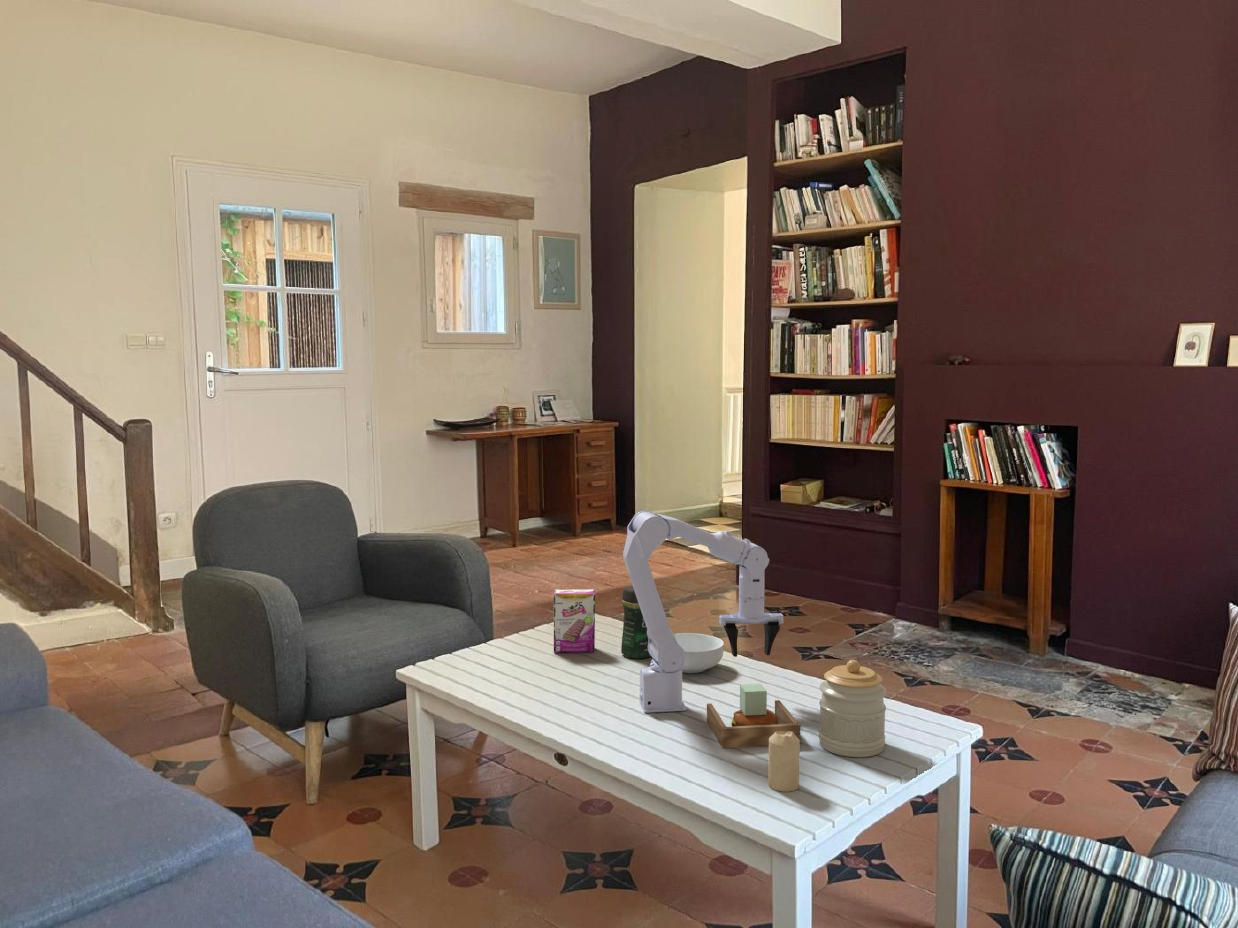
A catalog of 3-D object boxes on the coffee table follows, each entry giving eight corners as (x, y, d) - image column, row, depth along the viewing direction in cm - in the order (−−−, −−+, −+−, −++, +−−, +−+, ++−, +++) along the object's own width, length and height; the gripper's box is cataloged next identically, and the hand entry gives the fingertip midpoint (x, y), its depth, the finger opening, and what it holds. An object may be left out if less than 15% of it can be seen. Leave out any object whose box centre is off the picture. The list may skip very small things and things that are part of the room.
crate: (722, 748, 188) (722, 728, 188) (706, 721, 203) (706, 703, 202) (800, 744, 190) (800, 724, 190) (779, 717, 205) (779, 700, 204)
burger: (786, 737, 194) (787, 715, 194) (747, 744, 190) (748, 722, 190) (760, 721, 203) (761, 700, 203) (723, 728, 199) (723, 706, 199)
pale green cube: (745, 715, 194) (745, 691, 193) (739, 707, 198) (740, 684, 198) (766, 714, 194) (766, 690, 194) (760, 706, 199) (761, 683, 198)
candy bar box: (553, 653, 252) (553, 593, 250) (553, 648, 256) (553, 589, 255) (595, 652, 252) (595, 592, 251) (594, 647, 257) (594, 588, 256)
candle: (795, 778, 174) (796, 726, 173) (802, 791, 169) (803, 737, 168) (765, 779, 174) (766, 726, 173) (771, 792, 169) (772, 738, 168)
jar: (899, 750, 187) (901, 663, 185) (850, 763, 181) (852, 674, 179) (852, 728, 198) (854, 647, 197) (805, 740, 192) (806, 656, 190)
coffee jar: (635, 661, 244) (635, 591, 243) (616, 654, 251) (616, 585, 249) (663, 654, 250) (663, 586, 249) (644, 647, 257) (644, 580, 255)
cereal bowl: (710, 682, 228) (710, 654, 227) (647, 673, 235) (647, 645, 234) (732, 663, 243) (733, 636, 242) (673, 655, 250) (673, 629, 250)
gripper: (724, 601, 209) (724, 661, 211) (787, 599, 211) (786, 658, 212) (717, 594, 216) (716, 651, 218) (778, 592, 218) (777, 649, 219)
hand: (750, 654), depth 216 cm, fingers open, 7 cm apart
